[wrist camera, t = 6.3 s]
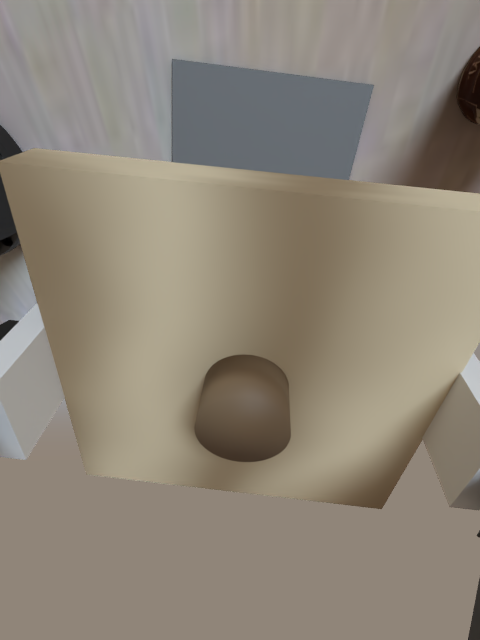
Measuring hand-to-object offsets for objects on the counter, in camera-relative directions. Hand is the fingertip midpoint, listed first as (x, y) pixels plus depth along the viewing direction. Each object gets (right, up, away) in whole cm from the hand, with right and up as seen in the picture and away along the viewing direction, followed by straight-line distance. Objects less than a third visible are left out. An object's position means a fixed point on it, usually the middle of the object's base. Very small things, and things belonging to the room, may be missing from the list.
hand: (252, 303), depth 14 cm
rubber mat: (+1, +13, +20) cm, 23 cm away
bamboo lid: (0, -2, -2) cm, 3 cm away
